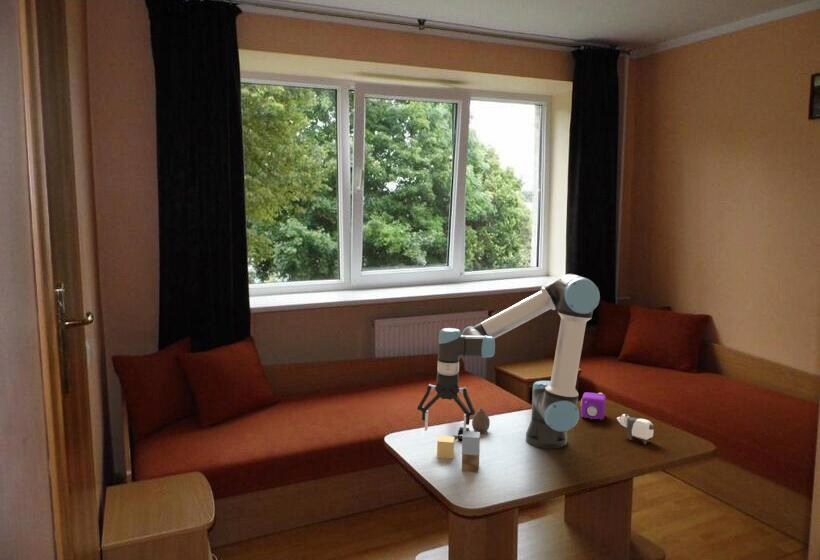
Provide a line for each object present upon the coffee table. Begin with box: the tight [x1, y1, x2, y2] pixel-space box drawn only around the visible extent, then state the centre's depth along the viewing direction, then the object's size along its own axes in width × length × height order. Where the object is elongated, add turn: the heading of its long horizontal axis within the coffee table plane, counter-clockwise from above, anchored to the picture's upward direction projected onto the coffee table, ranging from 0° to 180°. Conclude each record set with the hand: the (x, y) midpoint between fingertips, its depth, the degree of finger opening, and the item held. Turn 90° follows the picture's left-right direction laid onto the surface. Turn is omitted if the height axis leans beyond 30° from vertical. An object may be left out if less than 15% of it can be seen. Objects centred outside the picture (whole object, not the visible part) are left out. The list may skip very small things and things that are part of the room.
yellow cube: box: [436, 435, 456, 459], centre depth 218 cm, size 6×6×6 cm
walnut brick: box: [461, 449, 481, 473], centre depth 208 cm, size 6×6×6 cm
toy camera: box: [580, 391, 607, 420], centre depth 260 cm, size 11×14×10 cm
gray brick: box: [461, 430, 481, 456], centre depth 207 cm, size 6×6×6 cm
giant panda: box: [616, 412, 655, 442], centre depth 237 cm, size 15×6×10 cm, turn 43°
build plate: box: [452, 427, 471, 442], centre depth 234 cm, size 12×7×5 cm, turn 79°
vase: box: [471, 408, 491, 434], centre depth 242 cm, size 7×7×9 cm
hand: (445, 431), depth 217 cm, fingers open, 13 cm apart
